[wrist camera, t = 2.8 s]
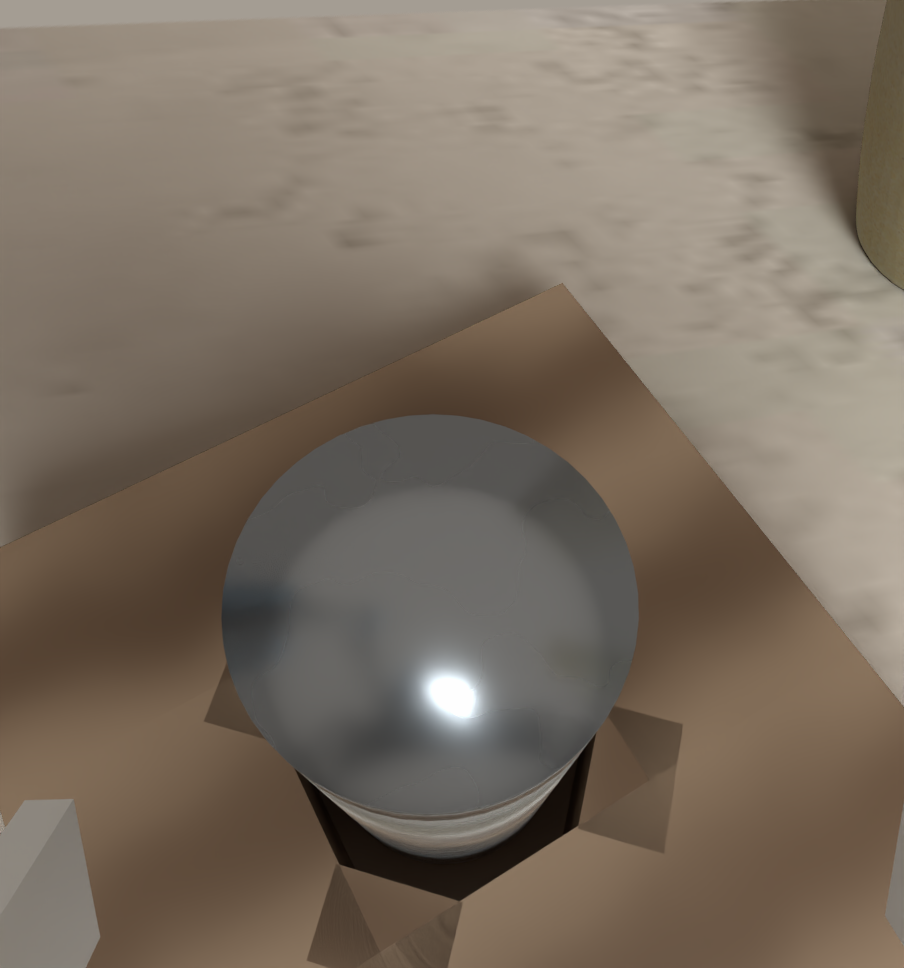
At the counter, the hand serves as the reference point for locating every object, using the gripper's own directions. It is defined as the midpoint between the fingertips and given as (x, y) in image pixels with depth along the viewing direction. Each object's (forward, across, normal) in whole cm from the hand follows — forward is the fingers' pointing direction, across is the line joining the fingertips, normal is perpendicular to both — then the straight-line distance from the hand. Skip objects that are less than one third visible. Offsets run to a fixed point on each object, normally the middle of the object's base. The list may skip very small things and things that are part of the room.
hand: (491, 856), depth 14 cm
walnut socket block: (+10, -1, -5) cm, 11 cm away
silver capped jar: (+9, -1, -5) cm, 11 cm away
